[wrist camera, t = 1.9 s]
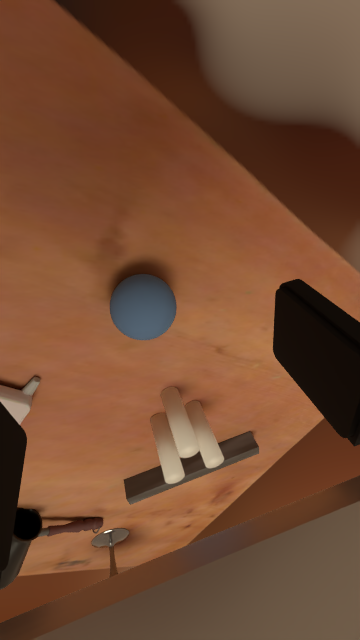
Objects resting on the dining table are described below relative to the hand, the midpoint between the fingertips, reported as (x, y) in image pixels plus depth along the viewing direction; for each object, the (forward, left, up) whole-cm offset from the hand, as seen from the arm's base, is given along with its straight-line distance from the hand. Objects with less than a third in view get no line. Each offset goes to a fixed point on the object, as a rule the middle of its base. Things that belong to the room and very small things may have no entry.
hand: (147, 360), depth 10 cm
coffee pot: (+44, -25, -19) cm, 54 cm away
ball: (+8, +1, -16) cm, 18 cm away
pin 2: (+28, +3, -19) cm, 34 cm away
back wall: (+41, +1, -19) cm, 45 cm away
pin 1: (+28, -2, -19) cm, 34 cm away
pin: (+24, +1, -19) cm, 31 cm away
